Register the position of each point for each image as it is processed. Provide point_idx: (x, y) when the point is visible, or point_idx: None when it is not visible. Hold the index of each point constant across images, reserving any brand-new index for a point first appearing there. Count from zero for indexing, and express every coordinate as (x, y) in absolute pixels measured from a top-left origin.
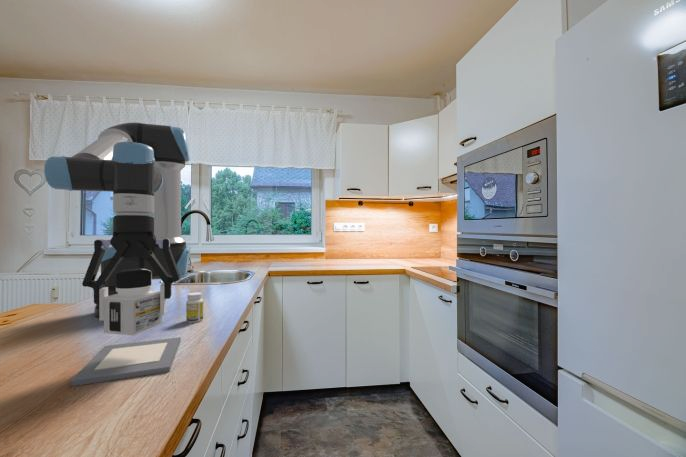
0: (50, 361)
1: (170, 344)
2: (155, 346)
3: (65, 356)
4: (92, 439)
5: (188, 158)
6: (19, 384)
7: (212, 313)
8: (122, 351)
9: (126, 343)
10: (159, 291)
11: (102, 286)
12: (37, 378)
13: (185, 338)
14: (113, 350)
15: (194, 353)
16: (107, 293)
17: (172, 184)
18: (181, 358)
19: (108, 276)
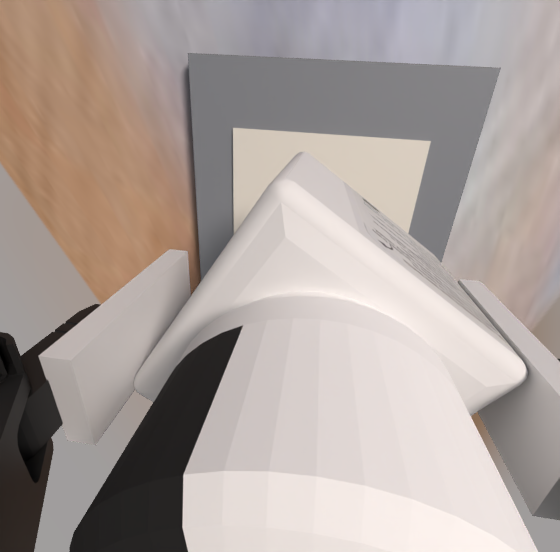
0: (62, 109)
1: (439, 164)
2: (383, 173)
3: (82, 71)
4: None
5: None
6: (91, 260)
7: None
8: (274, 178)
9: (267, 57)
10: (507, 389)
11: (41, 403)
12: (109, 241)
13: (523, 29)
14: (240, 149)
15: (501, 251)
16: (112, 340)
17: None
18: (453, 274)
19: (10, 531)
